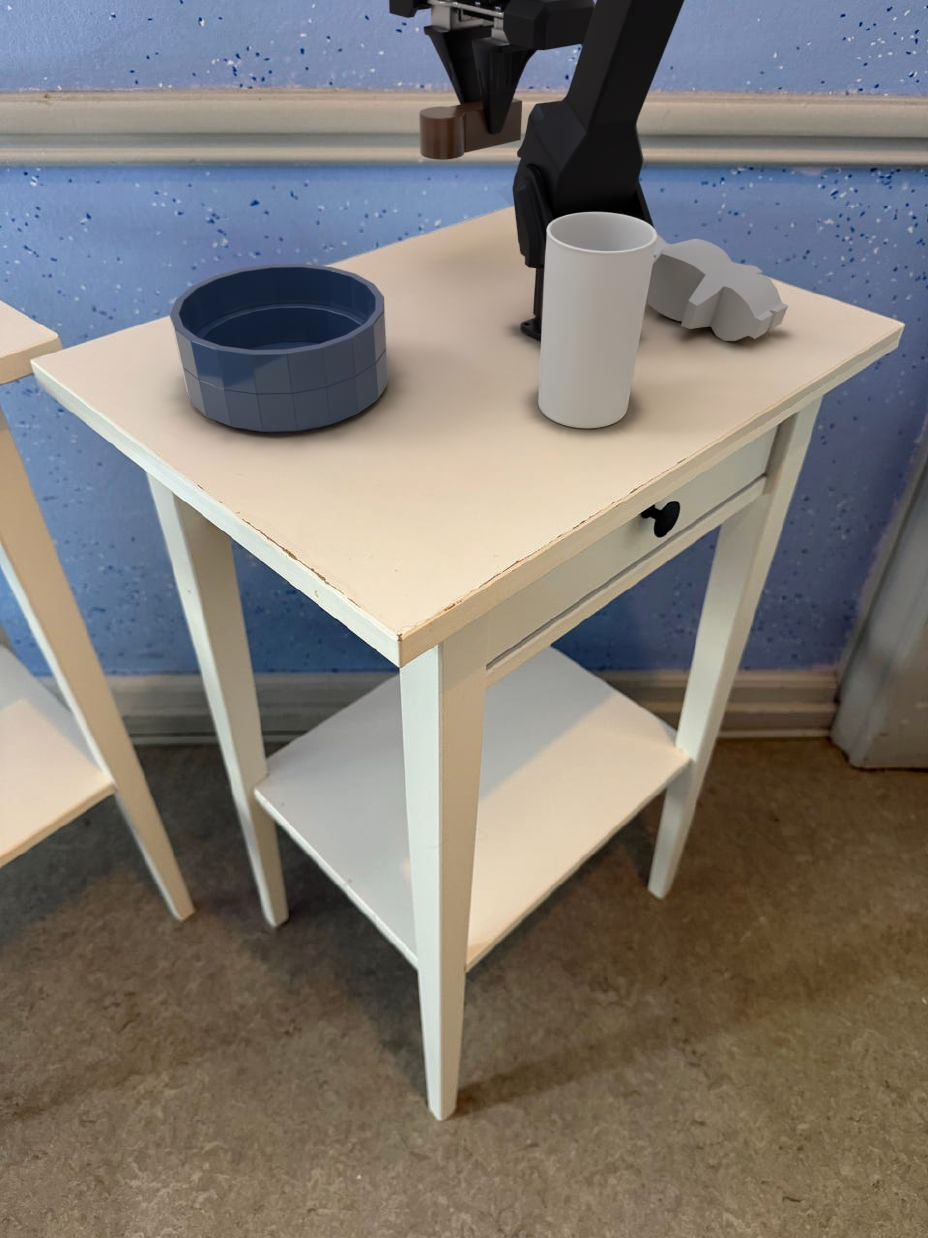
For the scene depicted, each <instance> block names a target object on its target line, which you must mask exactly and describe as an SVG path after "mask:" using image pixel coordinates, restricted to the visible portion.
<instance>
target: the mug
mask: <svg viewBox="0 0 928 1238" xmlns="http://www.w3.org/2000/svg"><path fill="white" fill-rule="evenodd" d="M654 228H655V227H654ZM654 228H653V227H652V226H651V225H650V224H648V223H646V222H644V221H642V220H640V219H637V218H634V217H631V216H627V215H622V214H616V213H607V212H584V213H575V214H570V215H566V216H562V217H560V218H557V219H555V220H553V221H552V222H551V223H550V224H549V225H548V227H547V240H546V253H545V271H544V292H543V313H542V334H541V341H540V352H539V376H538V397H537V398H538V400H537V403H538V407H539V410H540V411H541V412H542V414H543V415H544V416H545V417H546V418H548V419H550V420H551V421H553V422H555V423H557V424H559V425H563V426H567V427H570V428H571V427H572V428H578V429H597V428H603V427H607V426H610V425H614V424H615V423H618V422H619V421H620V420H621V419H623V418H624V417H625V415H626V413H627V411H628V407H629V401H630V395H631V390H632V386H633V385H632V384H633V379H634V374H635V368H636V363H637V362H636V361H637V357H638V352H639V344H640V339H641V334H642V328H643V322H644V316H645V310H646V304H647V294H648V288H649V282H650V277H651V271H652V265H653V260H654V251H655V244H656V239H657V234H658V232H657V230H656V228H655V229H654Z"/></svg>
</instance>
